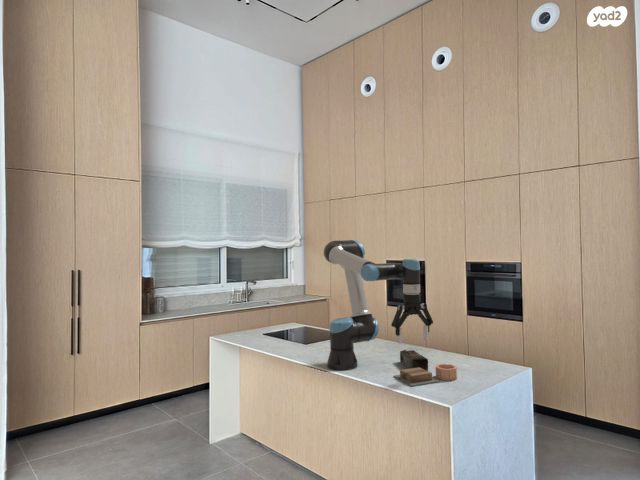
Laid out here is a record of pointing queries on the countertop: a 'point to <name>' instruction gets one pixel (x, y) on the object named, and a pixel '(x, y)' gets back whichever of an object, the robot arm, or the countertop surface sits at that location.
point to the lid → (416, 375)
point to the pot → (446, 372)
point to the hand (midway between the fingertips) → (412, 341)
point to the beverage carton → (413, 360)
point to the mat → (416, 382)
